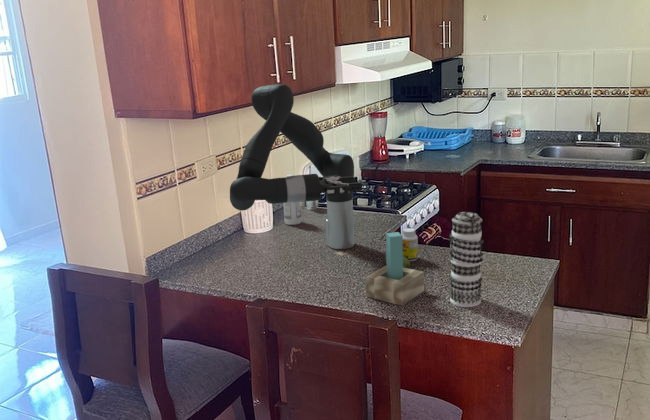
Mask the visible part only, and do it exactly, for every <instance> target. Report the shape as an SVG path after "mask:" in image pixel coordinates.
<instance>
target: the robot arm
mask: <svg viewBox="0 0 650 420" xmlns="http://www.w3.org/2000/svg"><path fill="white" fill-rule="evenodd" d="M294 101H295V100H294V94H293V91H292V89H291V87H290V86H289V85H287V84H285V83H279V84H278V83H277V84H276V83H275V84H268V85H262V86H259V87H257V88H255V89H254V90H253V92H252V94H251V104H252V107H253V109H254V111H255V112H256V114H257V115H259V117H260V118H262V119H263V120H265V122H264V123H263V124H262V126H260V128H259V129H258V130H257V131H256V133H255V134H253V136H252V137H251V138H250V139H249V141H248V142H247V143H246V145H245V148H244V150H243V153H242V156H241V158H240V162H239V166H238V172H237V173H238V174H237V176H236V179H235V180H233V181H232V182H231V184H230V186H229V202H230V204H231V206H232V207H233V208H234V209H235V210H238V211H246V210H249V209H251V207H252V206H253V205H254V204H255V201H265V202H267V204H270V205H275V204H283V203H287V202H292V203H296V202H301V203H303V202H304V203H306V202H307V201H317V200H318V201H320V199H321V194H326V214H327V215H326V216H327V219H325V220H324V221H325V222H324V223H325V241H326V243H325V245H326V246H328V247H329V248H332V249H335V250H346V249H350V248H353V247H354V246H355V227H354V206H353V205H354V203H353V201H354V200H353V199H354V197H353V195H354V192H361V191H363V183H362V182H360V181H359V182H355V163H354V159H353V158H352V156H351V155H349V154H346V153H345V154H344V153H332V152H329V151H328V150H326V148H324V140H325V139H324V136H323V134H322V132H321V130H320V129H319V128H318V127H317V126H316V125H315V124H314V123H313V122H312V121H311V120H309V119H308V118H305V116H302V115H299V114H297V113H294V112H292V110H293V107H294ZM280 133H281V135H283V136H284V137H285V138H286V139H288V140H289V141H290V143H292V145H293V146H294V147H295V148H296V149H298V151H300V152H301V153H302V154H303V155H304V156H305V157H306V158H307V159H308V160H309V161H310V162H311V163H312V165H314V167H315V168H316V170H317V171H318V172H319V174H320V175H321V176H319V175H318V174H317V173H311V174H309V173H307V174H297V175H294V176H289V177H287V176H286V177H275V178H264V177H262V176H263V174H264V171H265V170H266V169H265V168H266V166H267V163H268V160H269V156H270V153H271V151H272V149H273V146H274V145H275V142H276V140H277V139H278V137H279V135H280Z"/></svg>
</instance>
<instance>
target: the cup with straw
mask: <svg viewBox="0 0 650 420" xmlns="http://www.w3.org/2000/svg"><path fill="white" fill-rule="evenodd" d="M308 171H309V173H308V174H312V168H311V165H309V166H308ZM305 203H306V204H305V205H306V209H307V210H309V211H310V210H311V211H313V210H318V205H319V200H317V201H307V202H305Z"/></svg>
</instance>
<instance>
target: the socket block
mask: <svg viewBox="0 0 650 420" xmlns="http://www.w3.org/2000/svg"><path fill="white" fill-rule="evenodd" d="M424 276H425V272H424V271H422V270H417V269H412V268H410V269H409V268H404V267H403V278H401V279H400V280H396V279H391V278H387V264H386V265H384V266H382V267H381V268H379V269H377V270H376V271H373V272H372V273H370V274H368V275H367V276H366V277H365V292H366V293H365V296H366V297H368V298H371V299H373V300H379V301H381V302H385V303H386V302H387V303H391V304H394V305H399V306H404V305H406V304H407V303H408V302H410V301H411V300H413V299H415V298H416V297H418V296H419V295H420V294H421V293H423V292H425V288H424V287H425V283H424V282H425V281H424V280H425V277H424Z"/></svg>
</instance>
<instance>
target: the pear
mask: <svg viewBox="0 0 650 420" xmlns="http://www.w3.org/2000/svg"><path fill="white" fill-rule="evenodd" d="M384 260H385V262H386V264H387V261H386V255H385V256H384ZM403 267H404V268H409V269H412V264H411V261H409V260H408V259H407V258H405V256H404V255H403Z"/></svg>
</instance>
